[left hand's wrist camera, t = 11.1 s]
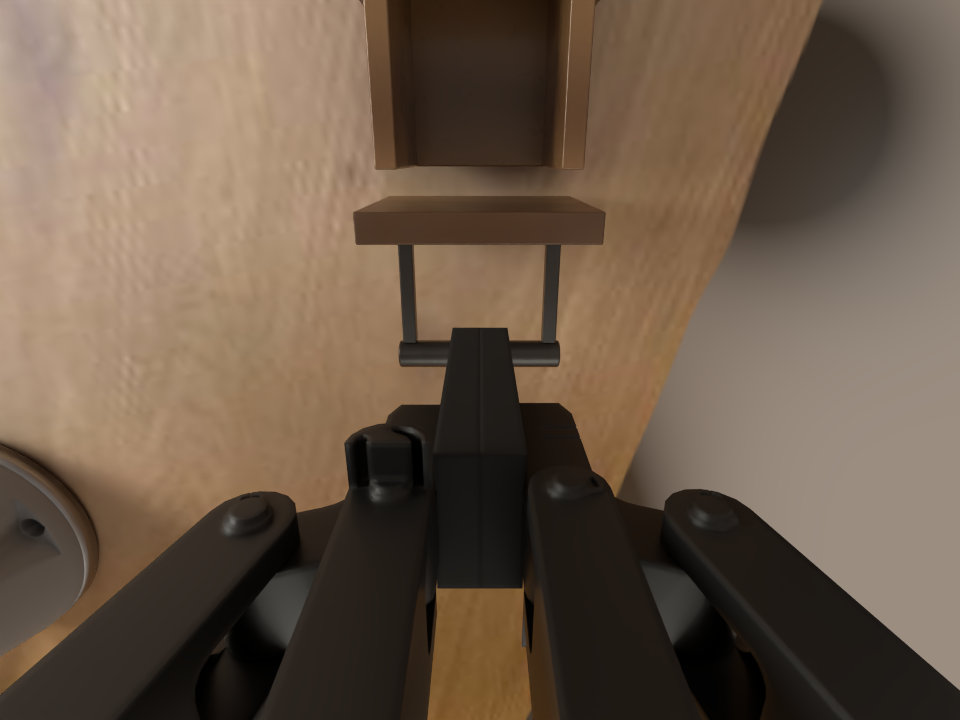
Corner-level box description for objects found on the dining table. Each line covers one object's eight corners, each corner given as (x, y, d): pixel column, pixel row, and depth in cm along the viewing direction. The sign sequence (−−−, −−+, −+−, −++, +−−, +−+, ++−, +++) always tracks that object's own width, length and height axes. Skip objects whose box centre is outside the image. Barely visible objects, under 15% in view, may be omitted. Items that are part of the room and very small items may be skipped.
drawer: (562, 330, 29) (590, 390, 22) (396, 330, 29) (367, 390, 22) (601, -324, 20) (676, -618, 12) (357, -324, 20) (282, -618, 12)
